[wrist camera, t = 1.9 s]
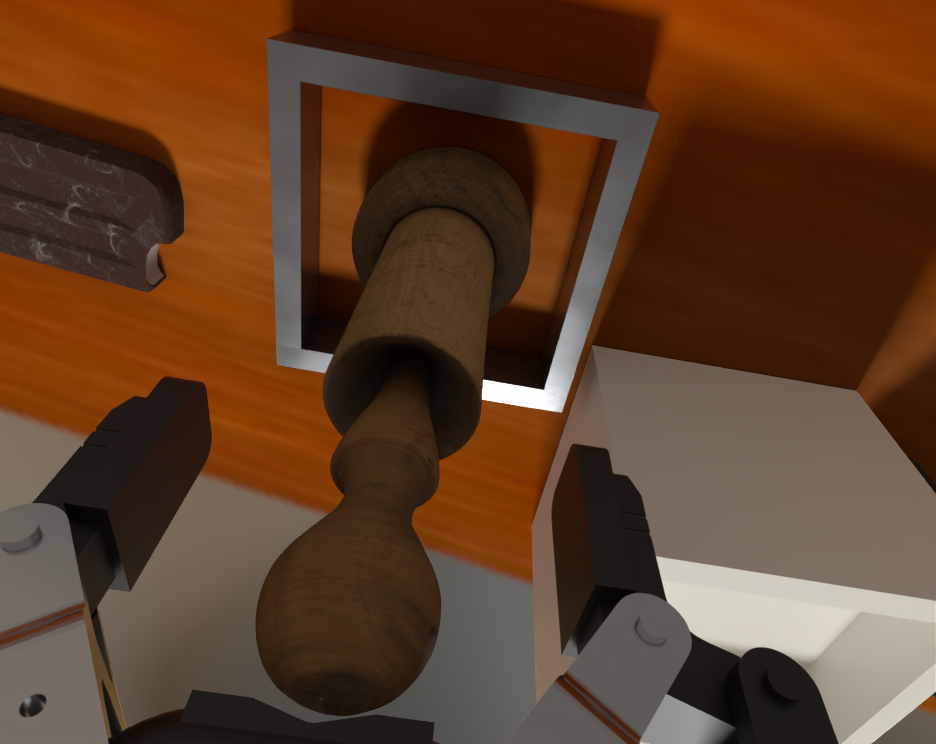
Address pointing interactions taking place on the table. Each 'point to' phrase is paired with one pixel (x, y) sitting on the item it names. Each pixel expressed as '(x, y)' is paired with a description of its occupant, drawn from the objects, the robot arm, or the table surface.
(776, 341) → the table surface
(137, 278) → the ice cream bar
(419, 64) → the low collar
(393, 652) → the mortar and pestle
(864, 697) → the box
